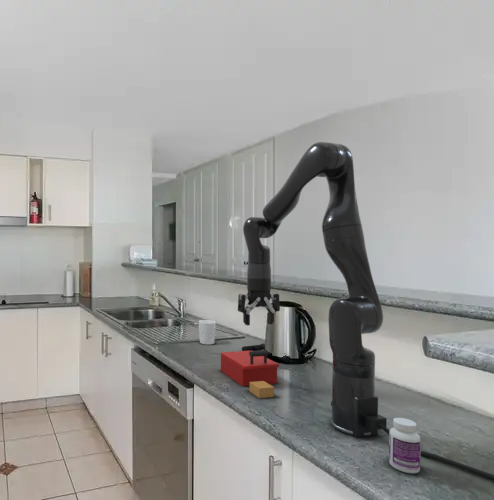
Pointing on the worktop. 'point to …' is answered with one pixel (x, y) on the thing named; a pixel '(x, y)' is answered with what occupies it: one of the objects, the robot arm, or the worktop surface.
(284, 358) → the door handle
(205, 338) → the white cup
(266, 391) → the block
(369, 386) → the robot arm
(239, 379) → the red open box
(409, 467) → the pill bottle
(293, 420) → the worktop surface
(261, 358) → the box lid
